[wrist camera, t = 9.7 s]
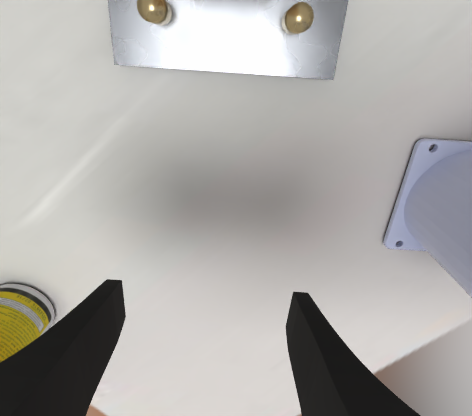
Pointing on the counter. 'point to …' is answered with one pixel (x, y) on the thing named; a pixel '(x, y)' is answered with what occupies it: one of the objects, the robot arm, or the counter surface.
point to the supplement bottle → (22, 317)
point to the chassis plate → (230, 35)
